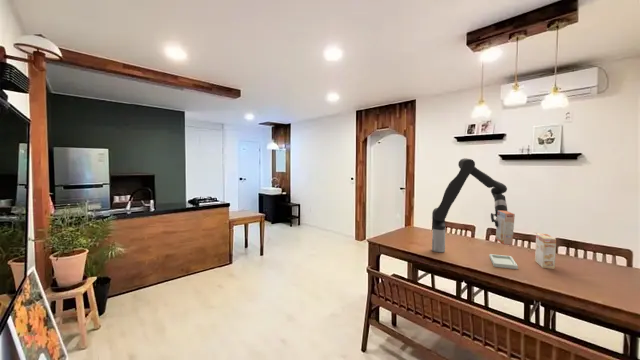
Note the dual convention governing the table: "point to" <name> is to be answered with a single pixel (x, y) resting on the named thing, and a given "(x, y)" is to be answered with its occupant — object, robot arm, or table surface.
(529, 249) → the table surface
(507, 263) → the sage tray
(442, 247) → the robot arm
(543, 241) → the coffeecake box
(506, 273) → the table surface
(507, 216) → the cracker box
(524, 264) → the table surface
